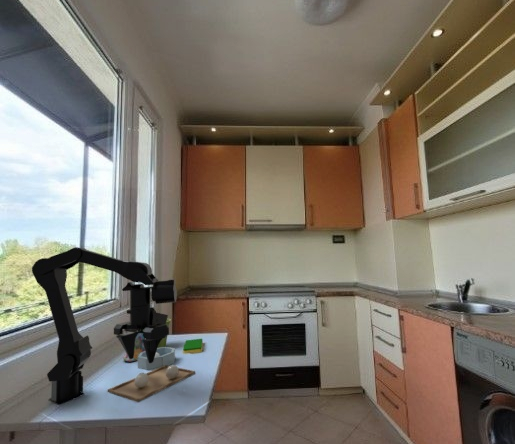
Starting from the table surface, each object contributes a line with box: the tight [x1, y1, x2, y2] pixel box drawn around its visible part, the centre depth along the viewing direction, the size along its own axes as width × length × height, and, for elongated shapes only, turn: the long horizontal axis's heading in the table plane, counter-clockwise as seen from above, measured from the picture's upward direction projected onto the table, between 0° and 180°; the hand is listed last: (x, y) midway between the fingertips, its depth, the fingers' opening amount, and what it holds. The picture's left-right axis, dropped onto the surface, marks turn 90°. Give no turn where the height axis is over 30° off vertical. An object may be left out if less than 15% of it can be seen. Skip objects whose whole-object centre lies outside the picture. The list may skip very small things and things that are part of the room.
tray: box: [107, 365, 196, 403], centre depth 85 cm, size 20×14×1 cm
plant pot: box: [158, 318, 172, 348], centre depth 123 cm, size 12×12×11 cm
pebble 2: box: [166, 364, 179, 379], centre depth 86 cm, size 4×4×4 cm
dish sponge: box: [182, 338, 204, 355], centre depth 118 cm, size 7×14×2 cm, turn 9°
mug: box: [122, 329, 145, 363], centre depth 111 cm, size 12×9×11 cm
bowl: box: [137, 346, 176, 371], centre depth 102 cm, size 12×12×4 cm
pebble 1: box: [134, 372, 149, 388], centre depth 81 cm, size 4×4×4 cm
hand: (141, 360), depth 82 cm, fingers open, 9 cm apart
